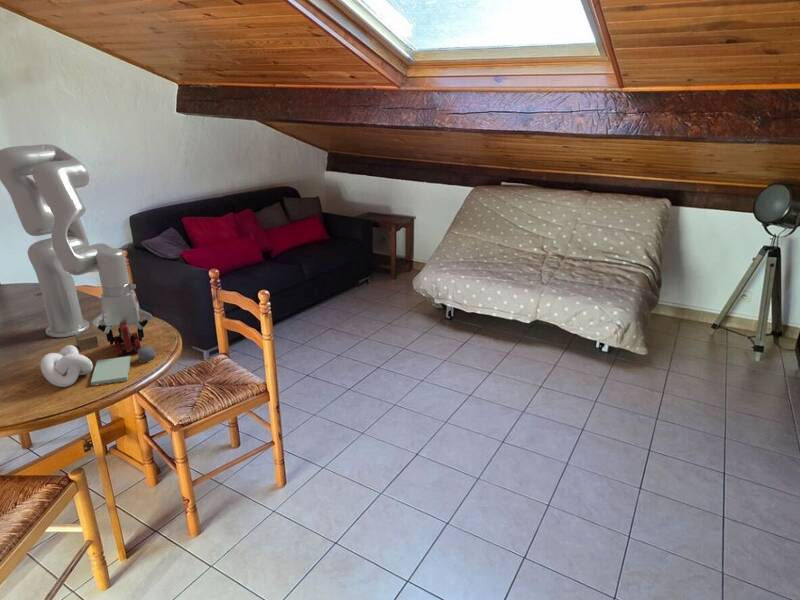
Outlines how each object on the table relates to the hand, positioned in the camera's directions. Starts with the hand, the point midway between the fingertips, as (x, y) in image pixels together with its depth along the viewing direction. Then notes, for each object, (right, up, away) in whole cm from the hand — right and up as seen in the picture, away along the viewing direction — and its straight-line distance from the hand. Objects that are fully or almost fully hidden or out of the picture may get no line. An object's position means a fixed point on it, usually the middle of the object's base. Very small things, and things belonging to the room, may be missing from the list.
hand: (126, 340), depth 161 cm
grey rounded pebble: (+9, -5, -4) cm, 11 cm away
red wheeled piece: (0, -3, +1) cm, 3 cm away
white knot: (-8, -10, -16) cm, 20 cm away
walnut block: (-13, -2, +2) cm, 14 cm away
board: (+2, -8, -12) cm, 15 cm away
